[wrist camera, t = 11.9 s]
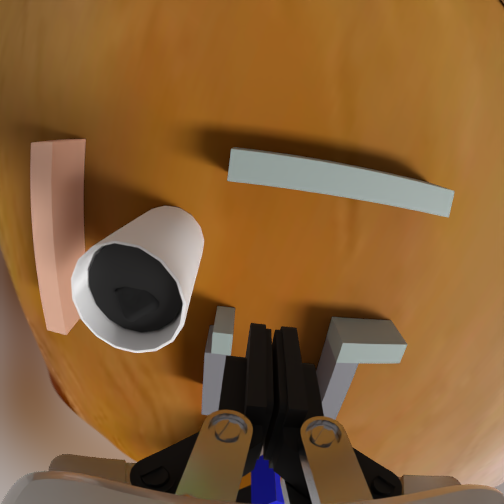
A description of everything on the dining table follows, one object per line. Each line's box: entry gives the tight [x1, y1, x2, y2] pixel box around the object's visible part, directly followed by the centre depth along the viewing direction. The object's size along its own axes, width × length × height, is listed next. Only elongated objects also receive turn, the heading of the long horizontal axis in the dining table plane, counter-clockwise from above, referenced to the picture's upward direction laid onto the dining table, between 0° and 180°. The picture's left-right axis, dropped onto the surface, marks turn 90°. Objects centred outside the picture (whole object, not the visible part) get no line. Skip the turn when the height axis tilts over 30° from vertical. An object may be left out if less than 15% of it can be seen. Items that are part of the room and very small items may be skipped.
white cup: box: [71, 205, 204, 353], centre depth 21 cm, size 7×7×10 cm
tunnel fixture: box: [30, 139, 454, 420], centre depth 24 cm, size 30×22×5 cm
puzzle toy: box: [235, 447, 285, 504], centre depth 31 cm, size 10×10×10 cm
